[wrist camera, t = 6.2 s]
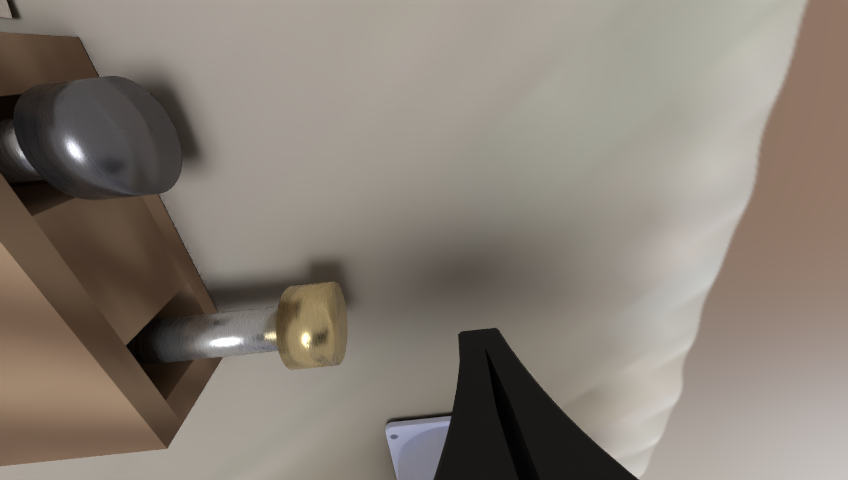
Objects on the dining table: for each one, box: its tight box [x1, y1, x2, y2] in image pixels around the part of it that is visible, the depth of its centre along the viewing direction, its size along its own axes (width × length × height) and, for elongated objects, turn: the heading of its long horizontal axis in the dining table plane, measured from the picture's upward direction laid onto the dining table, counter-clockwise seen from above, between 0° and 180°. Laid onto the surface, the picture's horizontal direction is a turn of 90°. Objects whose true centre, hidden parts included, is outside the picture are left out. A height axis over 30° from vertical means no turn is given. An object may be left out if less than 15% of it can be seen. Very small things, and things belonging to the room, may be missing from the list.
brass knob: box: [126, 281, 347, 370], centre depth 14 cm, size 3×9×3 cm, turn 95°
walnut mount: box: [0, 32, 223, 466], centre depth 12 cm, size 14×8×6 cm, turn 5°
